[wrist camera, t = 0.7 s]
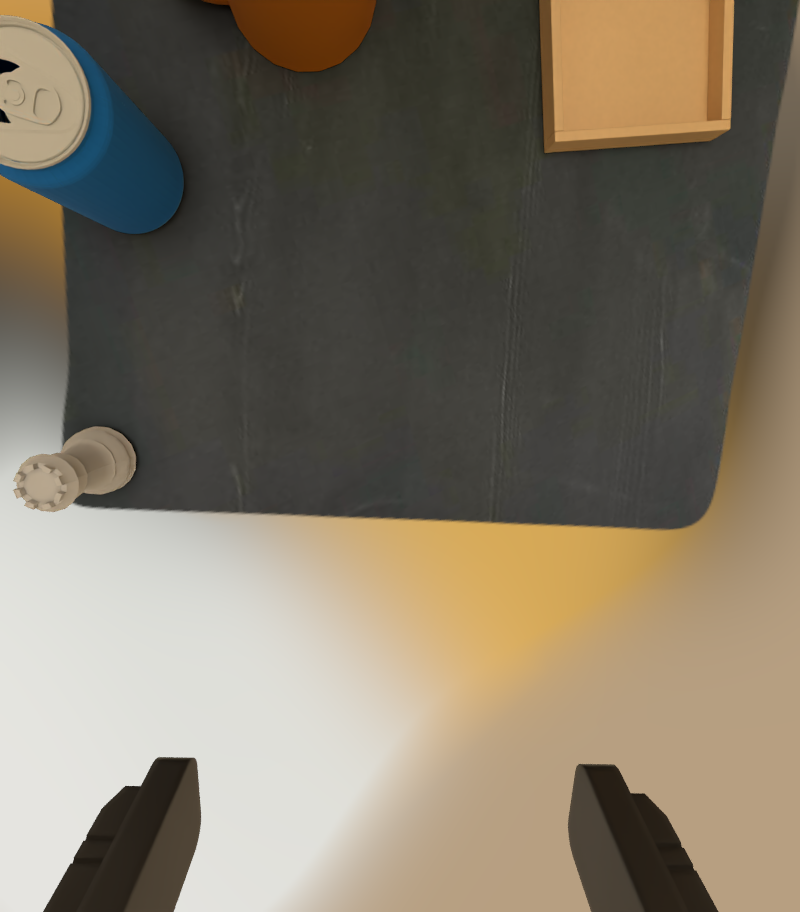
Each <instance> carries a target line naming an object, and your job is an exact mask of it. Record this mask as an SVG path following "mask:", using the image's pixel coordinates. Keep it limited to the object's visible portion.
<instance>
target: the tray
mask: <svg viewBox="0 0 800 912" xmlns="http://www.w3.org/2000/svg"><path fill="white" fill-rule="evenodd" d="M539 11H540V40H541V69H542V98H543V128H544V153H551V152H564V151H578V150H592V149H606V148H620V147H634V146H647V145H661V144H675V143H689V142H703V141H711V140H713V139H715V138H716V137H718V136H719V135H721V134H723V133H725V132H726V131H728V130H730V122H731V120H730V119H731V92H732V56H733V20H734V0H539Z"/></svg>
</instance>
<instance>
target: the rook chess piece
mask: <svg viewBox="0 0 800 912" xmlns="http://www.w3.org/2000/svg"><path fill="white" fill-rule="evenodd" d="M135 470H136V455H135V452H134V450H133V447H132V445H131V443H130V442H129V441H128V440H127V439H126V438H125V437H124V436H123V435H122V434H121V433H119V432H117V431H115V430H113V429H111V428H107V427H97V426H95V427H91V428H88V429H84V430H82V431H81V432H78V433H76V434H75V435H73V436H72V437H71V438H70V439H69V440H67V441H66V443H65V444H64V446H63V448H62V451H61V453H55V454H52V455H47V454H40V455H36V456H33V457H30V458H29V459H27V460H26V461H25V462H24V463H23V464H22V465H21V466H20V469H19V471H18V473H16V476H15V478H14V480H13V481H15V482H17V489H14V493H15V495H16V497H17V498H19V497H22V498H23V499H24V500H25V501H26V504H25V506H26V507H28V508H31V509H35V508H37V509H39V510H41V511H49V512H55V511H58V510H62V509H65V508H67V507H68V506H69V505H70V504H71V503H73V502H74V500H75V498H77V497H78V496H79V495H80V494H82V493H83V492H84V493H90V494H105V493H108V492H112V491H115V490H116V489H120V488H121V487H123V486H124V485H125V484H126V483H128V482H129V481H130V480H131V478H132V476H133V474H134V472H135Z"/></svg>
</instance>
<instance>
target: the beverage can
mask: <svg viewBox="0 0 800 912" xmlns="http://www.w3.org/2000/svg"><path fill="white" fill-rule="evenodd" d="M0 175H2V176H3V177H5V178H7V179H9V180H11V181H13V182H15V183H17V184H19V185H21V186H23V187H25V188H27V189H29V190H31V191H33V192H36V193H38V194H40V195H42V196H44V197H46V198H48V199H50V200H52V201H54V202H57V203H58V204H60V205H62V206H65V207H67V208H69V209H71V210H73V211H75V212H77V213H79V214H81V215H83V216H85V217H87V218H89V219H92V220H94V221H96V222H98V223H100V224H102V225H104V226H106V227H108V228H110V229H113V230H115V231H118V232H122V233H128V234H141V233H147V232H150V231H153V230H155V229H157V228H159V227H161V226H162V225H164V224H165V223H166V222H167V221H168V220H169V219H170V218H171V217H172V216H173V215H174V213H175V212H176V210H177V208H178V206H179V204H180V202H181V198H182V195H183V188H184V178H183V171H182V167H181V163H180V160H179V158H178V156H177V154H176V152H175V150H174V148H173V147H172V145H171V144H170V143H169V141H168V140H167V139H166V138H165V137H164V136H163V135H162V134H161V132H160V131H159V130H158V129H157V128H156V127H155V126H154V125H153V124H152V123H151V121H150V120H149V119H148V118H147V117H146V116H145V115H144V114H143V113H142V112H141V111H140V109H139V108H138V107H137V106H136V105H135V104H134V103H133V102H132V101H131V100H130V98H129V97H128V96H127V95H126V94H125V93H124V92H123V91H122V90H121V89H120V88H119V86H118V85H117V84H116V83H115V82H114V81H113V80H112V79H111V78H110V77H109V75H108V74H107V73H106V72H105V71H104V70H103V69H102V68H101V67H100V66H99V65H98V63H97V62H96V61H95V60H94V59H93V58H92V57H91V56H90V55H89V54H88V52H87V51H86V50H85V49H83V48H82V47H81V46H80V45H79V44H78V43H77V42H76V41H74V40H73V39H71V38H70V37H69V36H67V35H65V34H64V33H62V32H60V31H58V30H56V29H54V28H52V27H49V26H47V25H43V24H40V23H36V22H33V21H31V20H28V19H25V18H21V17H17V16H9V15H0Z"/></svg>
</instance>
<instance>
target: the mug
mask: <svg viewBox="0 0 800 912" xmlns="http://www.w3.org/2000/svg"><path fill="white" fill-rule="evenodd" d="M202 1H205V2H209V3H213V4H218V5H230V7H231V10H232V13H233V15H234V18H235V20H236V23H237V26H238V28H239V29H240V31H241V32H242V34H243V35H244V36H245V38H246V39H247V40H248V42H249V43H250V44H251V46H252V47H253V48H254V49H255V50H256V51H257V52H259V53H260V54H261V55H263V56H264V57H265V58H267V59H268V60H269V61H271V62H272V63H273V64H275V65H278V66H281V67H284V68H287V69H290V70H293V71H296V72H310V71H322V70H324V69H327V68H329V67H332V66H334V65H337V64H340V63H341V62H342V61H344V60H345V59H346V58H347V57H348V56H349V55H350V54H352V53H353V52H354V51H355V50H356V49H357V48H358V47H359V45H360V44H361V42H362V40H363V38H364V37H365V35H366V33H367V32H368V30H369V28H370V26H371V22H372V17H373V13H374V9H375V5H376V0H202Z"/></svg>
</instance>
